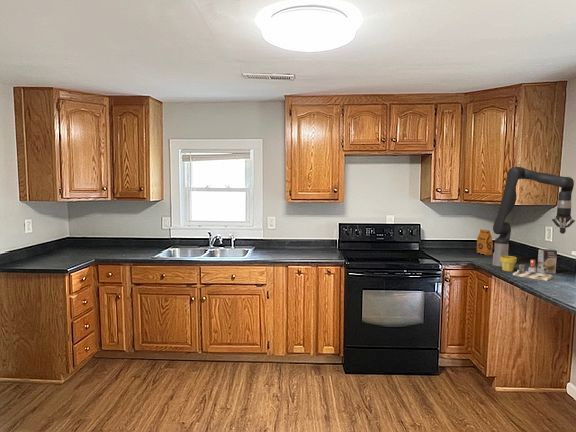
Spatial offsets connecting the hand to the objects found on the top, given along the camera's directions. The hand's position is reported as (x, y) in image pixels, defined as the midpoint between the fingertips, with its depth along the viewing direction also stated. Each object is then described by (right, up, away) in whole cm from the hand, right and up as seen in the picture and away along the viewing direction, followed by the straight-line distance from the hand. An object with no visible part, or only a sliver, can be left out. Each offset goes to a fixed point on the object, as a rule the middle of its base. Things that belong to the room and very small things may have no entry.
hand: (562, 233), depth 257 cm
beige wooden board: (-19, -29, +2) cm, 34 cm away
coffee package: (-7, -23, +87) cm, 91 cm away
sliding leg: (-19, -27, +3) cm, 33 cm away
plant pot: (-24, -28, +21) cm, 42 cm away
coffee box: (-1, -28, +15) cm, 32 cm away
